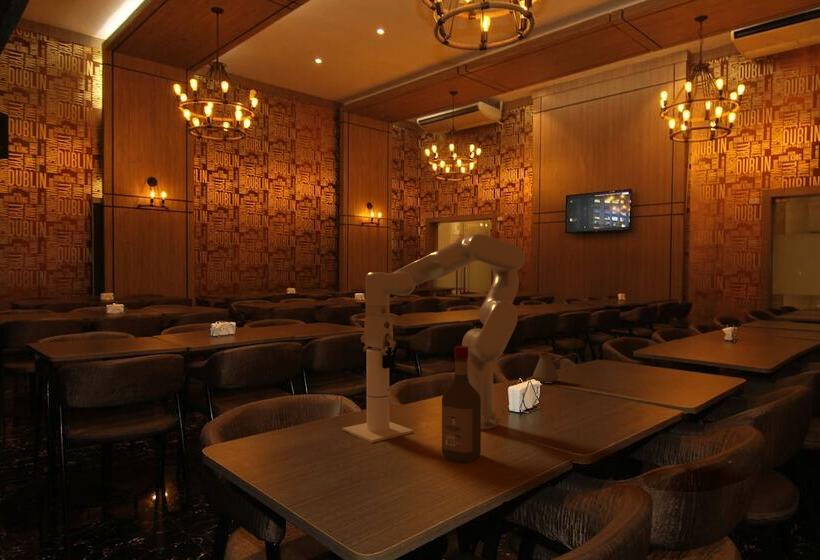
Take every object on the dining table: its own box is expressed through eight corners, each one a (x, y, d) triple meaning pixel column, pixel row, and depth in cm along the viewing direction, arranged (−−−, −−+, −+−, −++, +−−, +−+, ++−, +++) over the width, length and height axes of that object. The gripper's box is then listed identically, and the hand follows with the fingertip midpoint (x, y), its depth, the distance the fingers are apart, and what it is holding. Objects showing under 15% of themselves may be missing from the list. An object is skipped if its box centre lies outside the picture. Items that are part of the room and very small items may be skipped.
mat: (413, 432, 168) (413, 430, 168) (371, 442, 158) (371, 440, 158) (382, 421, 180) (382, 419, 180) (342, 430, 170) (342, 428, 170)
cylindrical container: (392, 426, 172) (392, 348, 171) (384, 433, 165) (384, 351, 165) (372, 424, 174) (371, 347, 174) (363, 430, 167) (362, 350, 167)
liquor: (469, 464, 140) (469, 350, 140) (438, 458, 145) (438, 347, 144) (483, 454, 148) (483, 346, 147) (454, 449, 153) (454, 343, 152)
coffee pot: (527, 382, 246) (528, 349, 245) (541, 378, 254) (541, 346, 254) (570, 389, 231) (571, 354, 231) (583, 385, 239) (583, 351, 239)
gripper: (404, 312, 164) (404, 368, 165) (371, 309, 178) (371, 361, 178) (384, 313, 160) (384, 371, 160) (352, 310, 173) (352, 363, 173)
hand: (377, 365), depth 169 cm, fingers open, 9 cm apart
